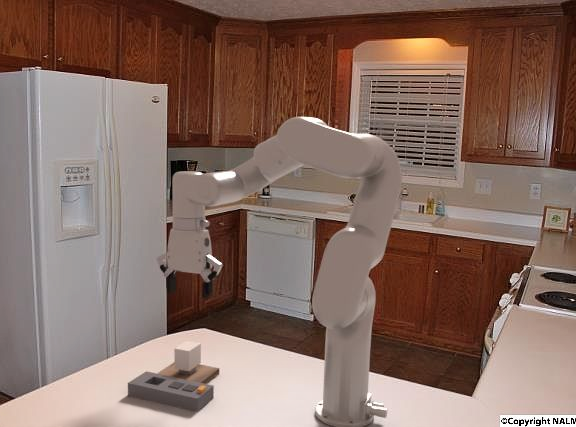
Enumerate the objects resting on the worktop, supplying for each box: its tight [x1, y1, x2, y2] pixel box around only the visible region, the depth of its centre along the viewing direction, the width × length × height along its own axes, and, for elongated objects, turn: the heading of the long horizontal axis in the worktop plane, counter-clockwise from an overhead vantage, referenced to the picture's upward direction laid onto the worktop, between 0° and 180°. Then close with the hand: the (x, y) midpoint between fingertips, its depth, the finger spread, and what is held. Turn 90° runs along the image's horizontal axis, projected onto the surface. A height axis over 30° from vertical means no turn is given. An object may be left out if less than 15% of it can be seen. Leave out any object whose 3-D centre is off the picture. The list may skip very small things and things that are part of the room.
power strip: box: [127, 370, 215, 413], centre depth 129 cm, size 18×7×4 cm, turn 68°
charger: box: [174, 340, 202, 375], centre depth 139 cm, size 4×6×6 cm
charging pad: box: [156, 361, 220, 384], centre depth 140 cm, size 12×10×2 cm
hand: (189, 294), depth 137 cm, fingers open, 9 cm apart
